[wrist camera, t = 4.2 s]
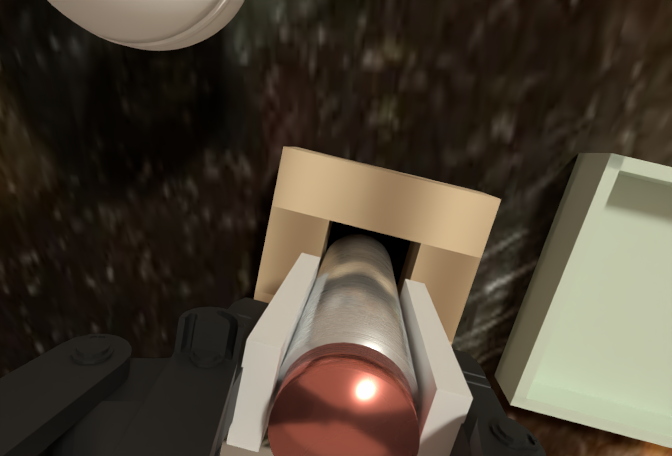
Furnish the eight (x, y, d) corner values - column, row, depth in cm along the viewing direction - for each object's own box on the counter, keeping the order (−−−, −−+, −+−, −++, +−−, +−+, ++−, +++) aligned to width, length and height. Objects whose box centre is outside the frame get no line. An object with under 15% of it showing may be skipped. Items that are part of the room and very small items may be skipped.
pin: (316, 289, 18) (247, 481, 8) (331, 226, 18) (277, 343, 7) (381, 305, 18) (401, 523, 8) (399, 243, 18) (449, 387, 7)
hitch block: (262, 314, 22) (245, 339, 19) (296, 147, 19) (283, 146, 16) (426, 357, 21) (435, 390, 18) (481, 192, 19) (501, 199, 16)
